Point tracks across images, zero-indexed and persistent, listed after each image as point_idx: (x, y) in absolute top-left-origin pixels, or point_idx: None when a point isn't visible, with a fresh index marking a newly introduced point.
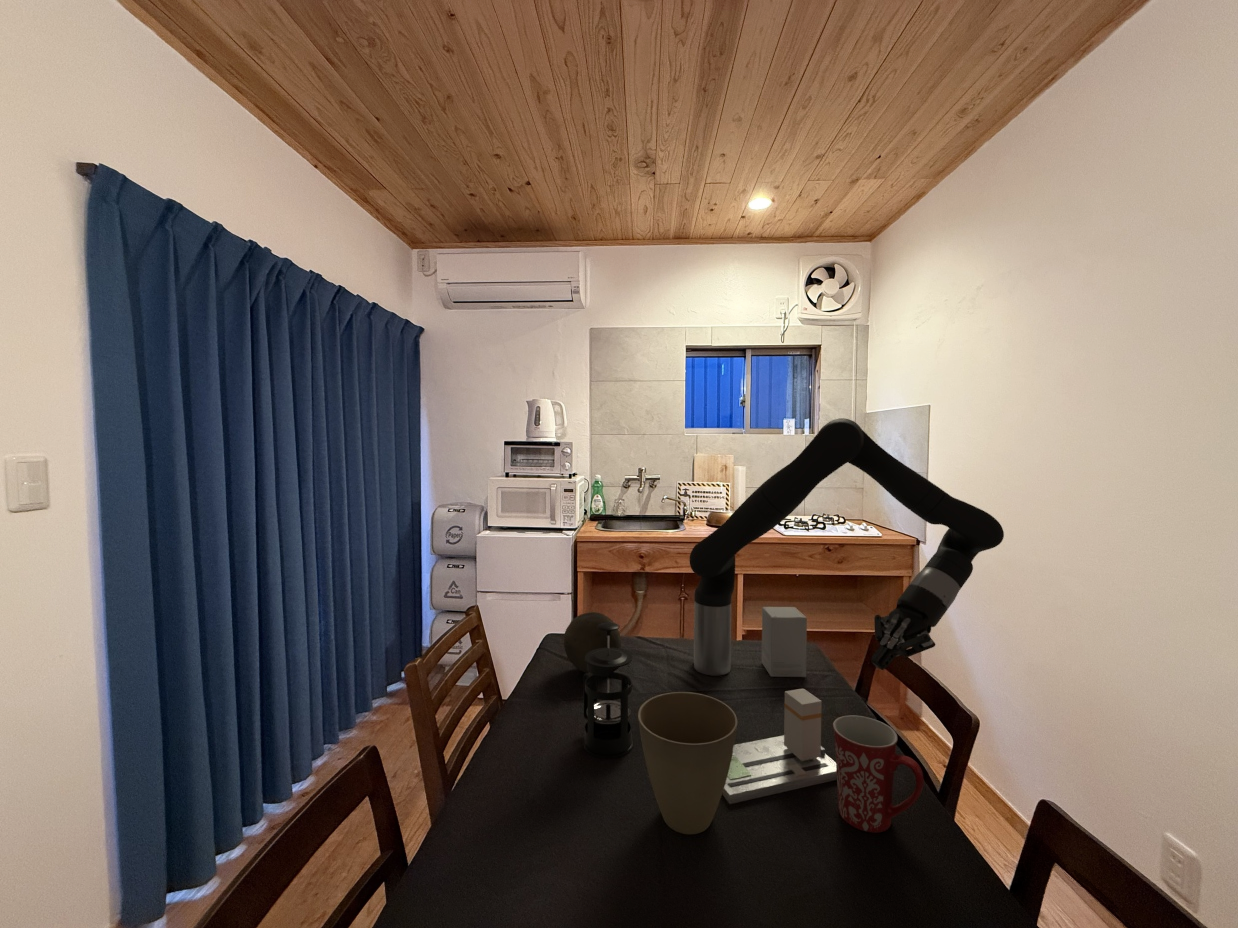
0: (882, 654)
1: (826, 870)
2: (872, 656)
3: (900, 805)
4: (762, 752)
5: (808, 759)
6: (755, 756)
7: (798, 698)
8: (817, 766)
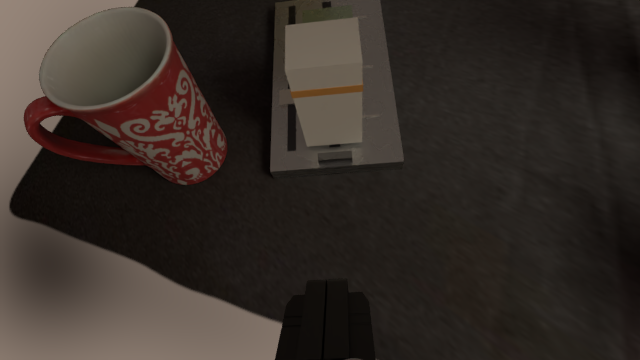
0: (306, 318)
1: None
2: (366, 302)
3: (111, 148)
4: None
5: None
6: None
7: (314, 30)
8: (290, 132)
